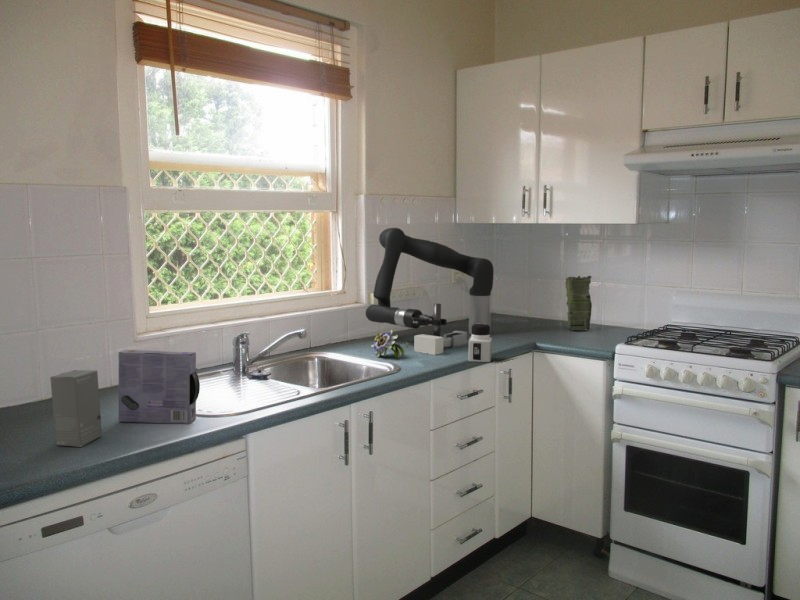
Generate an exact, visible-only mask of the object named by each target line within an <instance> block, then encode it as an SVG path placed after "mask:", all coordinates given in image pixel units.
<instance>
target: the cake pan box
mask: <svg viewBox="0 0 800 600" xmlns="http://www.w3.org/2000/svg"><path fill="white" fill-rule="evenodd" d="M196 367H197V353H196V352H195V351H171V350H170V351H167V350H141V349H139V350H138V349H137V350H136V349H124V350H122V351H119V352H118V423H143V424H144V423H145V424H183V425H191V423H193V422H194V421H195V420H196V419H197V399H198V397H199V394H200V390H201V388H200V386H201V385H200V379H199V376H198V372H197V368H196Z"/></svg>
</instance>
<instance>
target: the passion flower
mask: <svg viewBox="0 0 800 600" xmlns="http://www.w3.org/2000/svg"><path fill="white" fill-rule="evenodd" d="M393 333H394V330H393V329H390V330H389V331H386V332H384V333H377V335H376V336H375V338H374V341H373V343H372V344H371V345H370V347H371V348H374V350H375V355H377V357H379V358H381V357H382V356H383V357H384V356H385V355H386V353H387V350H391V351H393V353H394V357H395V359H397V360H399V359H400V354H401V356H402V357H403V356H404V355H405V350H404V348H403V347H402V346H401V345H402V344H405V345H406V348H408V347H409V344H408V342H407V341H404V342H401V343H399V344H398V343H396V341H395V340H397V339H398V337H399V335H398V334H396V335H395V334H394V335H393ZM377 357H376V358H377Z"/></svg>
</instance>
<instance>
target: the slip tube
mask: <svg viewBox="0 0 800 600" xmlns="http://www.w3.org/2000/svg"><path fill="white" fill-rule="evenodd" d="M433 315H434V319H435V320H441V319H442V303H441V302H440V303H439V302H438V303H437V302H436V303H433ZM432 326H433V329H432V330H433V333H432V336H439V337H442V335H441V334H442V332H441V331H442V330H441V329H442V328H441V327H442V325H441V326H435V325H432ZM452 345H453V338H452V337H447V338H444V337H443V349H444V348H449V347H448V346H452Z"/></svg>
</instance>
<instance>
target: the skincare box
mask: <svg viewBox="0 0 800 600" xmlns="http://www.w3.org/2000/svg"><path fill="white" fill-rule="evenodd" d="M98 376H99V375H98V370H97V369H96V370H94V369H93V370H90V369H89V370H83V369H82V370H81V369H78V370H77V369H76V370H70V371H67V372H61V373H60V374H56V375H52V376H50V388H51V400H52V412H53V424H54V435H55V445H56V446H63V447H64V446H67V447H77V448H82V447H84V446H85V445H88V444H89V443H91V442H93V441H95V440H97V439H99V438H101V437H103V433H102V429H103V428H102V419H101V406H100V405H101V403H100V402H101V401H100V393H99V391H100V390H99V389H100V388H99V377H98Z"/></svg>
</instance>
